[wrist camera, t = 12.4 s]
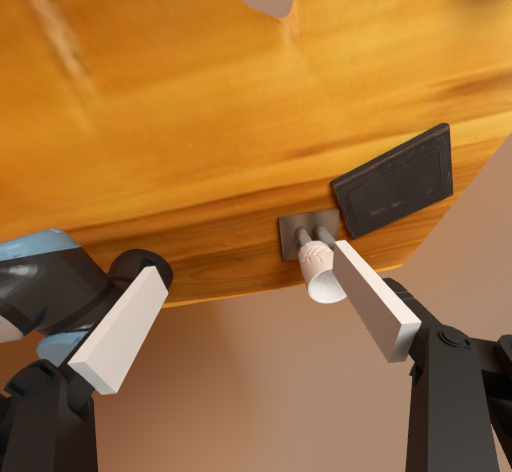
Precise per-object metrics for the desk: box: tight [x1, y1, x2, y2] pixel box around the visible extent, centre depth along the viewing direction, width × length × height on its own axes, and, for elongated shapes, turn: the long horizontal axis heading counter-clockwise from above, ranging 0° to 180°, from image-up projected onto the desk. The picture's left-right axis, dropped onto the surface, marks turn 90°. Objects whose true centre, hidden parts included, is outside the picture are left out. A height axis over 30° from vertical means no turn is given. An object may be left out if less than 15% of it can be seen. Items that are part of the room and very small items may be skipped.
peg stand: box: [278, 208, 339, 261], centre depth 44 cm, size 14×12×8 cm
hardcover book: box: [330, 123, 453, 240], centre depth 42 cm, size 16×23×2 cm
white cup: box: [298, 241, 347, 303], centre depth 36 cm, size 8×8×10 cm
